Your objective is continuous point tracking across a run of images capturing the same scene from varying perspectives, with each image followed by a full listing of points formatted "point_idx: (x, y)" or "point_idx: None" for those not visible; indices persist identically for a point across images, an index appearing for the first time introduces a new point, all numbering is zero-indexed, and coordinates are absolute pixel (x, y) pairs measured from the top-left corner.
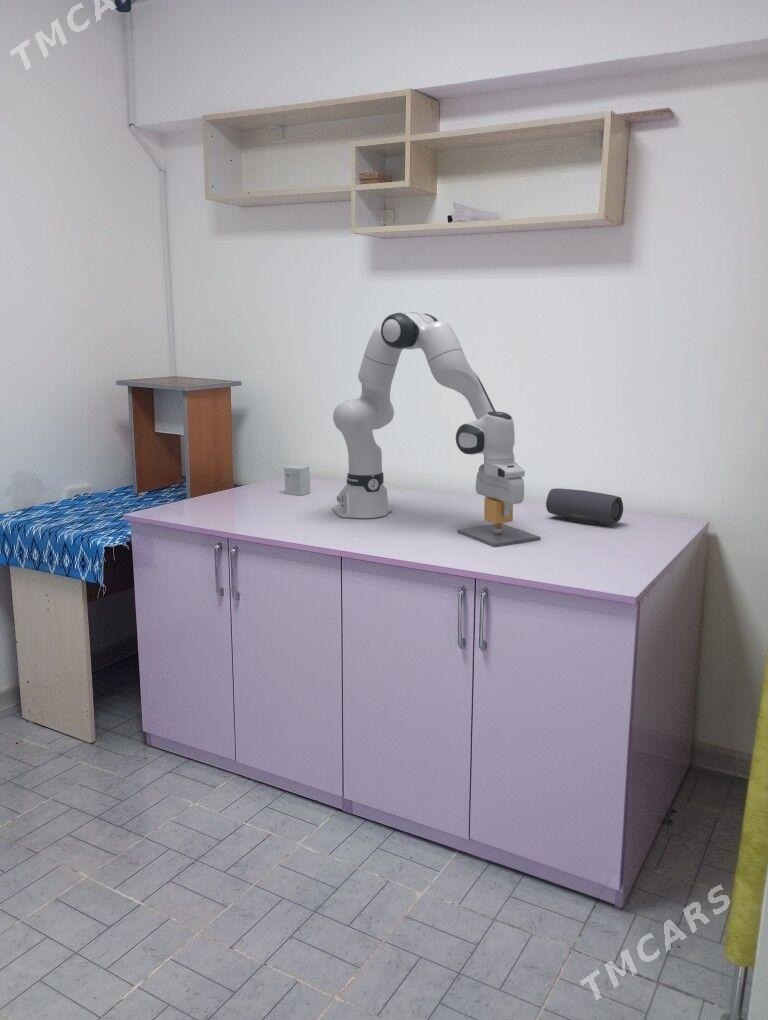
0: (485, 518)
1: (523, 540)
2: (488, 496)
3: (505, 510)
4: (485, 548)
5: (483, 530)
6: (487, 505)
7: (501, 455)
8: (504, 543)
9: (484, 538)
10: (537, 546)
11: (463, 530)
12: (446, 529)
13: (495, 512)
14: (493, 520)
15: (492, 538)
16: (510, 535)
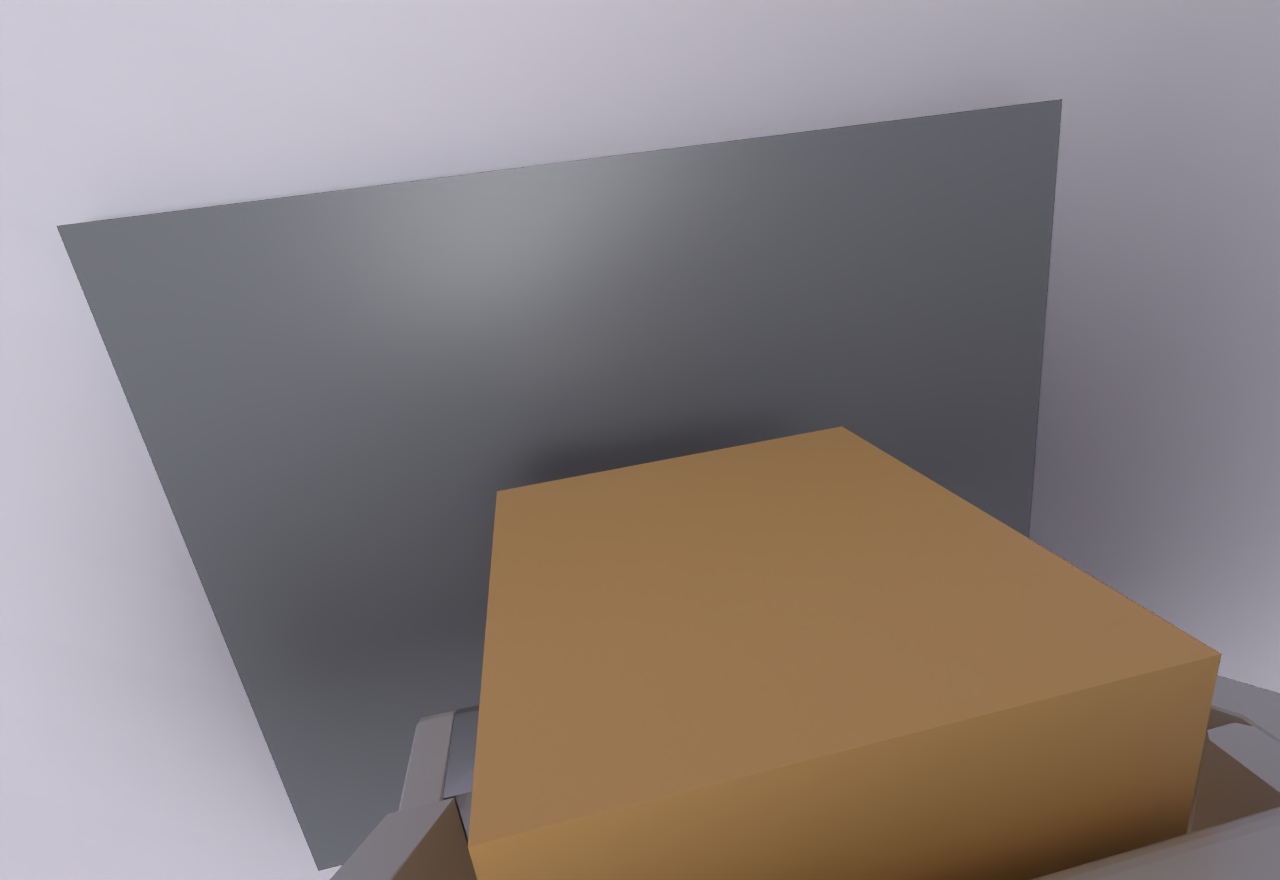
0: (825, 443)
1: (247, 672)
2: (1242, 837)
3: (375, 836)
4: (43, 58)
5: (841, 405)
6: (908, 583)
7: None
8: (143, 404)
9: (434, 227)
10: (38, 737)
11: (966, 152)
12: (1225, 48)
13: (503, 599)
14: (570, 496)
15: (401, 339)
16: (479, 608)
